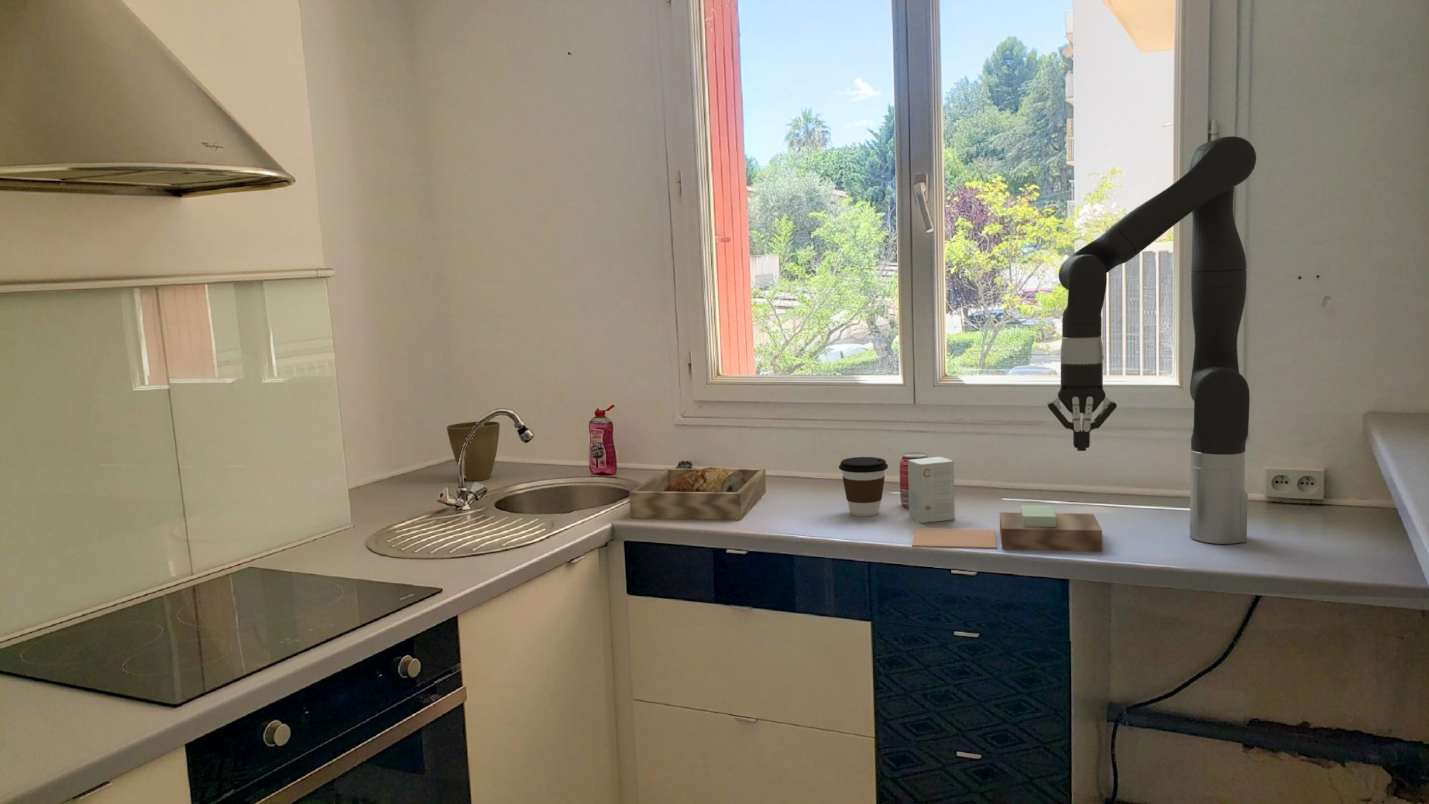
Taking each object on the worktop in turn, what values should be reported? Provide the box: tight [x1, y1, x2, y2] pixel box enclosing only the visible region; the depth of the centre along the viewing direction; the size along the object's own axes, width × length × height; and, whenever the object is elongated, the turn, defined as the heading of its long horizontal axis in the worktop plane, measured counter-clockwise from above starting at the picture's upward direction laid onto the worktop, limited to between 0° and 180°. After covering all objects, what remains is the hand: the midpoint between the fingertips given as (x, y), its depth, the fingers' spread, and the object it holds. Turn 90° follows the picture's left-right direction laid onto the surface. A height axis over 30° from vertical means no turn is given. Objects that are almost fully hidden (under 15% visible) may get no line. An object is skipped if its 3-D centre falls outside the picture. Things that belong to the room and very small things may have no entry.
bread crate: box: [628, 468, 767, 521], centre depth 236 cm, size 26×28×6 cm
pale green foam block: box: [1020, 504, 1056, 527], centre depth 191 cm, size 6×9×2 cm, turn 165°
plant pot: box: [446, 420, 501, 482], centre depth 281 cm, size 15×15×16 cm
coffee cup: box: [838, 456, 889, 517], centre depth 220 cm, size 11×11×12 cm
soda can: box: [899, 451, 929, 508], centre depth 224 cm, size 7×7×12 cm
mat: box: [911, 528, 997, 550], centre depth 196 cm, size 16×13×1 cm
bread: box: [661, 466, 744, 492], centre depth 234 cm, size 20×18×10 cm
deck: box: [999, 511, 1103, 552], centre depth 191 cm, size 18×13×4 cm
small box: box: [908, 456, 956, 524], centre depth 212 cm, size 8×6×13 cm
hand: (1081, 450), depth 187 cm, fingers closed
